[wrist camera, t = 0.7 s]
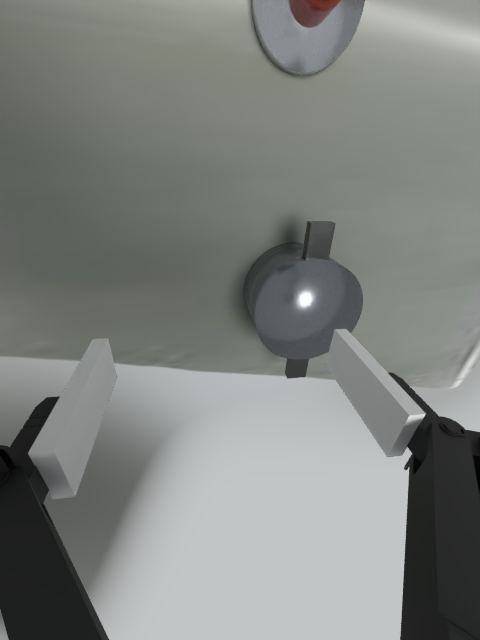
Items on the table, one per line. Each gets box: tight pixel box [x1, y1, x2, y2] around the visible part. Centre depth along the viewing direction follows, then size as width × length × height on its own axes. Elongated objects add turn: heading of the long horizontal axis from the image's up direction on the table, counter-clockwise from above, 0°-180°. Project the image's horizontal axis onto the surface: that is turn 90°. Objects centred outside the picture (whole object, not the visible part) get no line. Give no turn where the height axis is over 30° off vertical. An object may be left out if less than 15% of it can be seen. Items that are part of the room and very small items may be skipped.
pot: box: [244, 221, 363, 378], centre depth 38 cm, size 22×14×9 cm, turn 178°
